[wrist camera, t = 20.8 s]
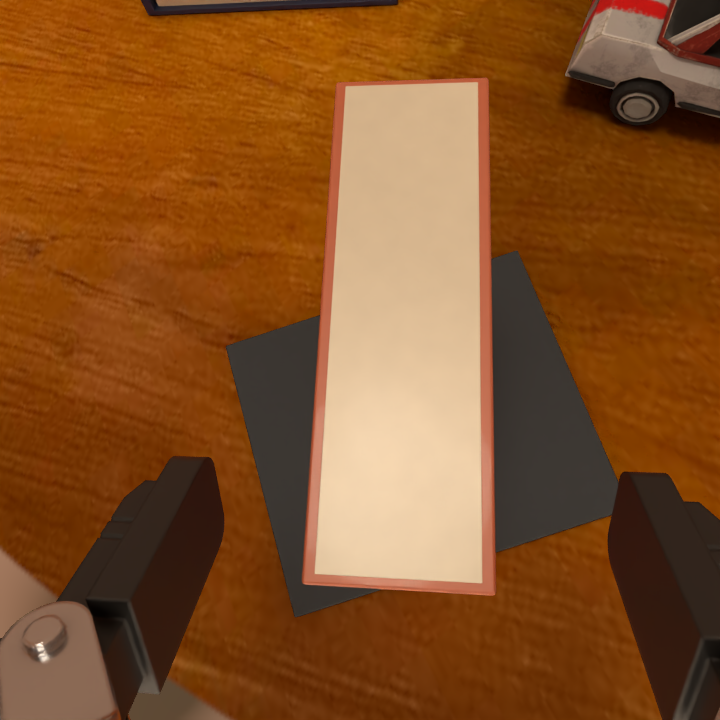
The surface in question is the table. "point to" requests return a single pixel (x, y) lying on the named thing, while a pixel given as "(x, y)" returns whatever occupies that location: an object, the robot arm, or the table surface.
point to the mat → (511, 431)
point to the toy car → (652, 56)
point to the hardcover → (247, 5)
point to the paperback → (405, 345)
